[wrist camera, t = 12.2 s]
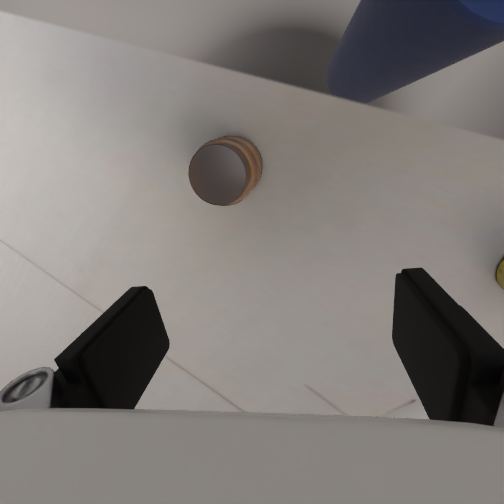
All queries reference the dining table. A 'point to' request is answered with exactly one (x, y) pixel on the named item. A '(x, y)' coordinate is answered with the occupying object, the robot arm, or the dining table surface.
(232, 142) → the pile chip top
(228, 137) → the pile chip bottom
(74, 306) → the dining table surface
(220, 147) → the walnut chip
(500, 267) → the vase
